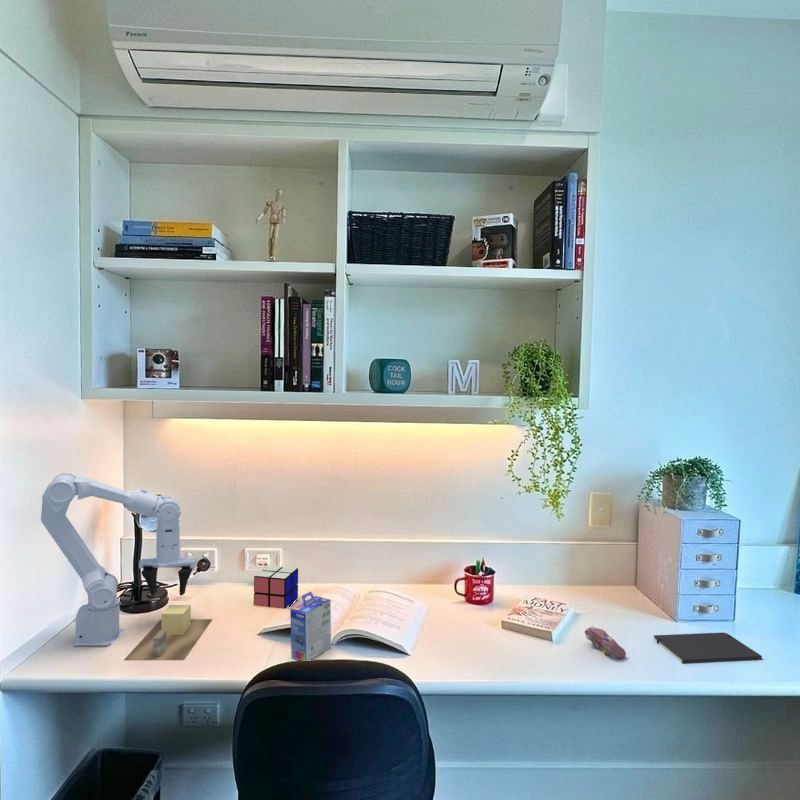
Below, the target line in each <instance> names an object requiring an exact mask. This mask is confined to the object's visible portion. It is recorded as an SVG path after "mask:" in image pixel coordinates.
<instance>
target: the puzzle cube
mask: <svg viewBox="0 0 800 800" xmlns="http://www.w3.org/2000/svg"><path fill="white" fill-rule="evenodd" d="M298 584H299V568H298V567H292V566H291V567H290V566H281V565H279V566H278V565H267V566H266V567H265V568H264V569H262V570H261V571H260V572H258V573H257V574H255V575H254V576H253V592H254V593H253V606H254V607H263V608H273V609H283V610H284V609H288V608H289V607H290V605H291V604H292V603H293V602H294V601H295V600H296V599H297V598H298V599H299V585H298ZM290 608H291V607H290Z"/></svg>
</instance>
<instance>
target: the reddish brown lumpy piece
mask: <svg viewBox="0 0 800 800" xmlns="http://www.w3.org/2000/svg"><path fill="white" fill-rule="evenodd" d="M584 634H585V638H586V639H587V640H588V641H590V642H591V643H592V645H593V646H594V648H596V649H597V650H598V651H600V650H602V653H603V654H605V655H606V656H610V655H613V656H614V657H616V658H618V659H625V658H626V656H627V653H626V650H625V649H624V648H623V647H622V646H620V645H619V644H618V642H617V641H616V640H615V639H614V638H613V637H612V636H611V635H609V634H608V633H607V632H606V631H605V630H604V629H602V628H599V627H598V628H596V627H595V626H594V625H592V626H591V627H588V628H586V629H585V630H584Z"/></svg>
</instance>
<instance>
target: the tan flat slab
mask: <svg viewBox="0 0 800 800" xmlns="http://www.w3.org/2000/svg"><path fill="white" fill-rule="evenodd" d="M212 621H213V619H211V618H206V619H205V618H200V619H199V618H197V619H196V618H191V620H190V627H189V628H188V629H187V630H186V632H185V633H184V634H183V635H166V631H162V618H161V619H159V621H158V622H157V623H156V624H155V625H154V627H153V628H151V630H149V632H148V633H147V634H146V635H145V636H144V637H143V638H142V639H141V640H140V642H138V644H137V645H136V646H134V648H133V649H132V650H131V651H130V652H129V654H127V656H126V657H125V658H124V659H123V661H185V660H186V658H187V656H188V655H189V654H190V653H191V652H192V649H193V648H194V647H195V645H197V642H198V641H199V640H200V638H201V637H202V636H203V634H204V632H205V631H206V629H208V627H209V625H210V624H211V623H212Z"/></svg>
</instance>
